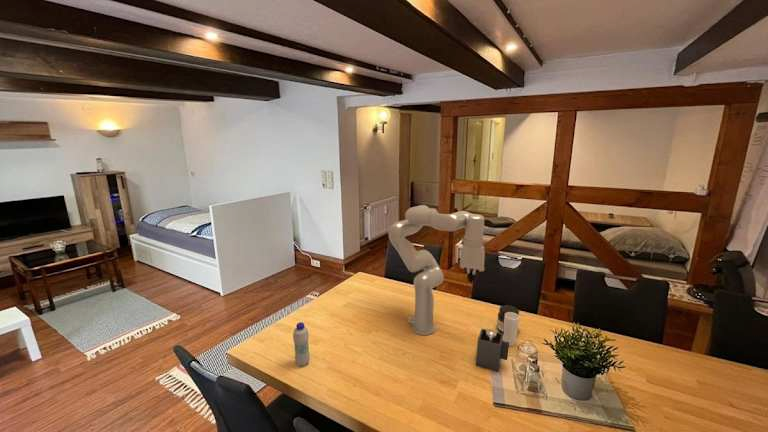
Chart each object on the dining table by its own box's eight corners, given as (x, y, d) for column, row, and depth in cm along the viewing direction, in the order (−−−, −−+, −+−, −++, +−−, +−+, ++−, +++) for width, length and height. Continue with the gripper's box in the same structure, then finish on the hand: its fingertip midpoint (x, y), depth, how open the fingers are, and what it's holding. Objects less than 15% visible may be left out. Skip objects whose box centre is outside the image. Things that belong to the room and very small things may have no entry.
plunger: (479, 357, 147) (481, 334, 145) (482, 348, 154) (484, 326, 151) (496, 362, 144) (498, 338, 142) (498, 353, 151) (500, 329, 148)
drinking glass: (517, 348, 160) (520, 320, 156) (502, 346, 161) (505, 318, 157) (515, 339, 166) (518, 312, 163) (501, 338, 168) (503, 311, 164)
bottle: (313, 360, 151) (311, 320, 146) (305, 369, 145) (302, 328, 140) (300, 356, 153) (297, 317, 149) (291, 366, 147) (288, 325, 142)
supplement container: (495, 333, 171) (497, 312, 168) (497, 323, 181) (499, 303, 178) (517, 338, 168) (520, 316, 165) (518, 327, 177) (520, 306, 174)
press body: (475, 365, 148) (477, 339, 144) (479, 353, 156) (481, 328, 153) (505, 374, 143) (508, 347, 139) (507, 360, 151) (510, 335, 148)
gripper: (454, 242, 146) (452, 281, 150) (490, 247, 139) (486, 288, 144) (458, 237, 152) (456, 275, 157) (492, 242, 146) (489, 281, 151)
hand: (470, 281), depth 150 cm, fingers closed
